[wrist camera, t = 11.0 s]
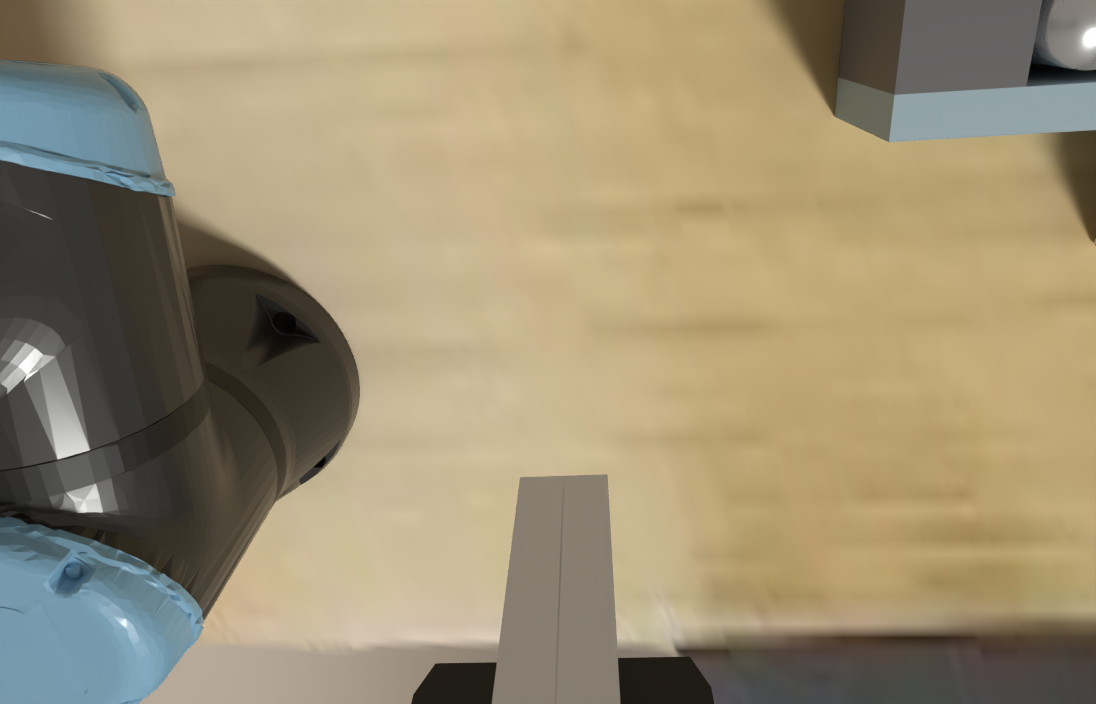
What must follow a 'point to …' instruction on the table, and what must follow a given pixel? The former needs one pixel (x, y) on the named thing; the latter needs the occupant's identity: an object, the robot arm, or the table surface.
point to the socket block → (954, 72)
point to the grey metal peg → (1066, 34)
